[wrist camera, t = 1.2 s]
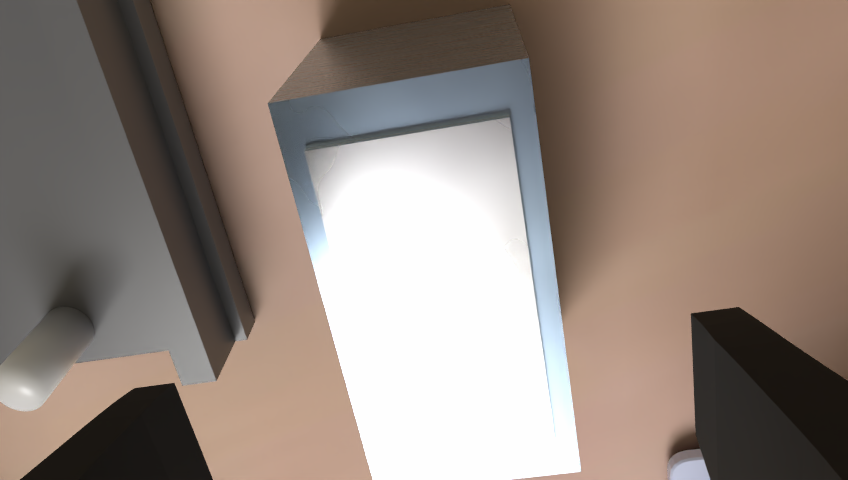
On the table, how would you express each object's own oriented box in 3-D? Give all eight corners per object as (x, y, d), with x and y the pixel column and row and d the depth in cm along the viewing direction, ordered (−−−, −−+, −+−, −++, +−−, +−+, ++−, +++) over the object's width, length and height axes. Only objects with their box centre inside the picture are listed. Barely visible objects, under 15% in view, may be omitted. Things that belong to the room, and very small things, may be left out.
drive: (552, 329, 19) (581, 477, 14) (395, 350, 20) (375, 499, 15) (509, 3, 16) (529, 60, 11) (321, 37, 16) (265, 105, 12)
